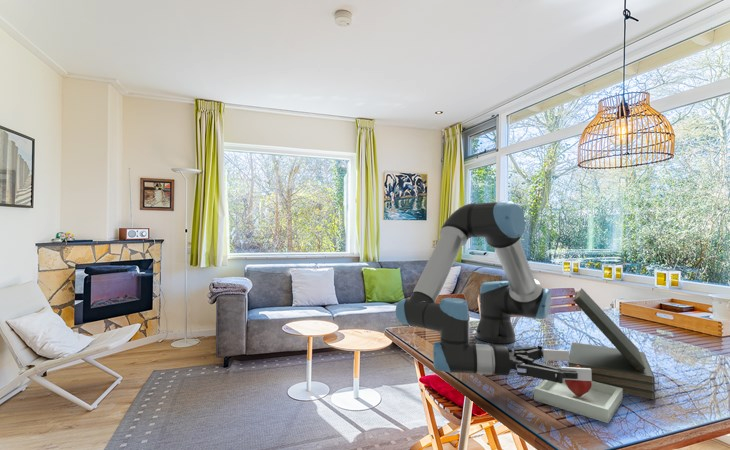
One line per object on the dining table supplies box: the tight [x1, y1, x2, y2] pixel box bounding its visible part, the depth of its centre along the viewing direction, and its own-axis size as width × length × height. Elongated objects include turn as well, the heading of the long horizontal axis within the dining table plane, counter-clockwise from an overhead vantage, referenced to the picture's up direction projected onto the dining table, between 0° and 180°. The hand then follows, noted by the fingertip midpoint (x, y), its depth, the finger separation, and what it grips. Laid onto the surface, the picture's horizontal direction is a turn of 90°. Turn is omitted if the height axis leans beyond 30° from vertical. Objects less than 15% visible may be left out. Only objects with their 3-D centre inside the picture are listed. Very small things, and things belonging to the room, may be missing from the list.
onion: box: [565, 365, 592, 397], centre depth 92 cm, size 6×6×8 cm
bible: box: [567, 287, 656, 401], centre depth 107 cm, size 23×20×25 cm
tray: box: [533, 374, 624, 424], centre depth 92 cm, size 16×16×3 cm
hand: (579, 364), depth 92 cm, fingers open, 13 cm apart
